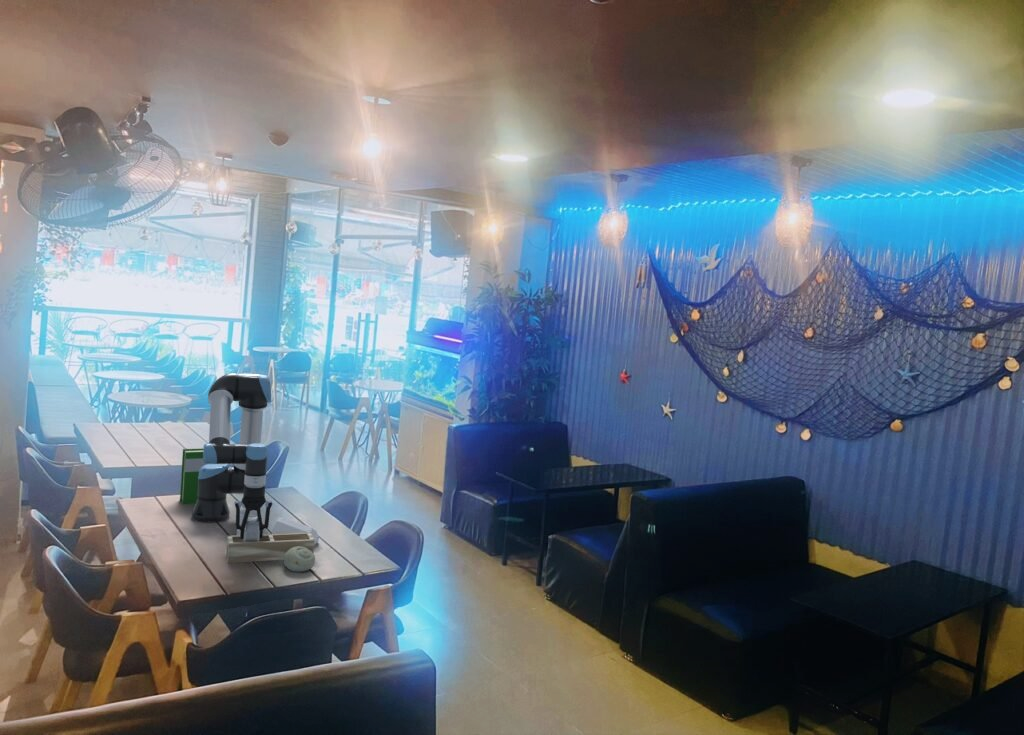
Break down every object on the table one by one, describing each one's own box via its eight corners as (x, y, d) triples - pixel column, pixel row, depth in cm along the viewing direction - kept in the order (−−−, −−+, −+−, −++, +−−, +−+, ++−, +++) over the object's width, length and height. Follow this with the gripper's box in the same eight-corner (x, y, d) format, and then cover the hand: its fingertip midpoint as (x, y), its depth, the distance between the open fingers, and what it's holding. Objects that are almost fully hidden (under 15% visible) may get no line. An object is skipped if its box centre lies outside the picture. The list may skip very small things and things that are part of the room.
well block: (226, 553, 274) (227, 535, 273) (309, 549, 286) (310, 532, 286) (227, 562, 265) (229, 544, 264) (313, 558, 278) (314, 540, 277)
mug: (260, 542, 289) (262, 515, 289) (237, 543, 286) (239, 515, 285) (257, 532, 300) (259, 506, 299) (234, 533, 296) (236, 507, 295)
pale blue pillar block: (244, 545, 273) (246, 517, 272) (255, 545, 275) (257, 516, 274) (245, 551, 268) (247, 522, 267) (257, 550, 270) (259, 521, 269)
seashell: (320, 550, 266) (296, 551, 259) (317, 572, 265) (293, 574, 258) (302, 543, 275) (278, 544, 268) (299, 565, 274) (275, 566, 267)
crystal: (265, 525, 299) (304, 540, 286) (278, 514, 304) (317, 528, 291) (271, 538, 303) (310, 553, 289) (284, 527, 307) (323, 541, 294)
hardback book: (182, 504, 328) (186, 452, 326) (179, 500, 334) (182, 448, 332) (223, 501, 338) (227, 451, 336) (220, 497, 344) (223, 447, 342)
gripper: (230, 488, 263) (226, 551, 265) (279, 487, 271) (275, 548, 272) (229, 483, 270) (225, 544, 272) (277, 482, 277) (273, 542, 279)
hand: (250, 546), depth 272 cm, fingers closed on pale blue pillar block, 4 cm apart
